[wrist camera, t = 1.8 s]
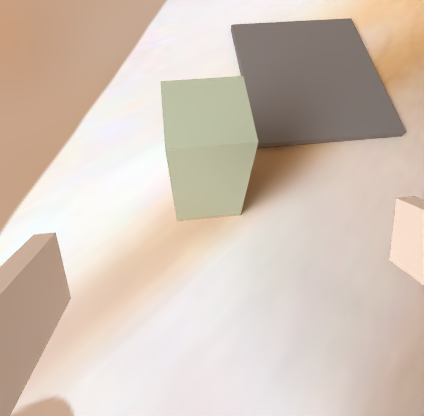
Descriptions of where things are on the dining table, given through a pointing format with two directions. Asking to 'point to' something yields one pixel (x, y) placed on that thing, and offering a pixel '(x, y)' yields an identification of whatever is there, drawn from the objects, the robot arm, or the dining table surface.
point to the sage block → (208, 145)
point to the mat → (312, 83)
